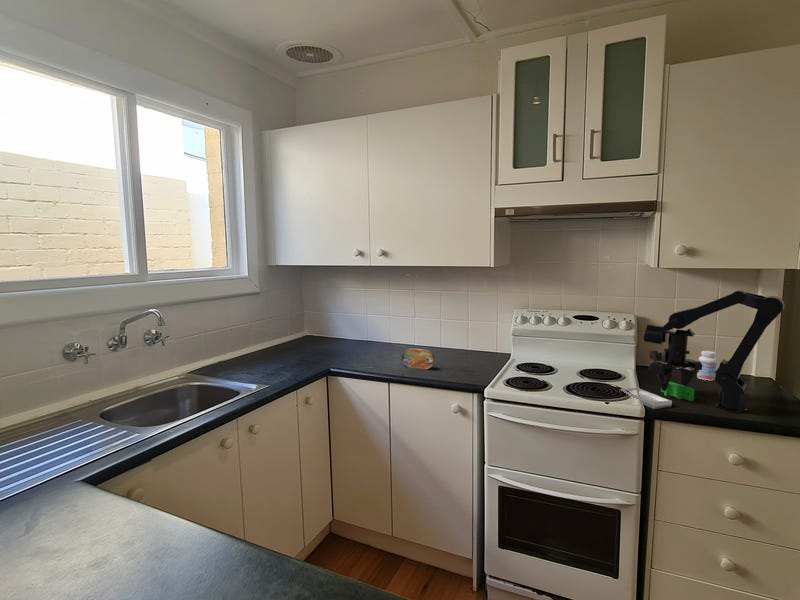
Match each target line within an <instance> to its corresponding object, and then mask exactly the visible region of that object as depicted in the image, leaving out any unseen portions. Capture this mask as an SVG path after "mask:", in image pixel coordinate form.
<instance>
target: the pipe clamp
mask: <svg viewBox="0 0 800 600" xmlns="http://www.w3.org/2000/svg"><path fill="white" fill-rule="evenodd" d="M695 391H696V390H695V388H693V387H689V386H688V385H687V386H683V385H681V384H679V383H676V382H673V381H669V384H668V387H667V389H666V391H663V390H662V388H661V387H660V392H661V393H664V394H663V395H664V396H665V397H666V396H671V397H675V398H676V399H677V400H686V401H689V402H694V399H695Z"/></svg>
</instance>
